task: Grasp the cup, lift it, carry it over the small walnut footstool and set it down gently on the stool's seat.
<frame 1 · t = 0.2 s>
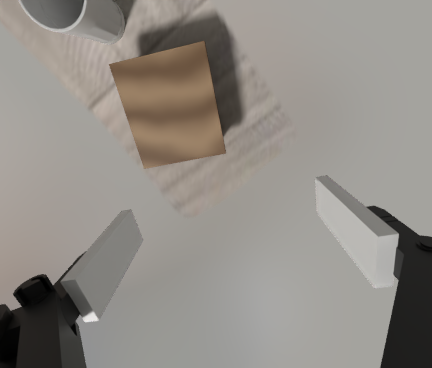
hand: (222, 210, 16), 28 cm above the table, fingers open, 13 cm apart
cup: (105, 21, 35), on the table
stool: (178, 108, 40), on the table
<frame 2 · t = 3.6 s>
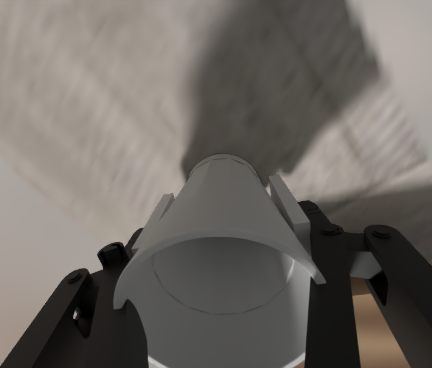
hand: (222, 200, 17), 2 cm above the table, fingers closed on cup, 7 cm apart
cup: (223, 188, 20), on the table, touching gripper
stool: (323, 302, 24), on the table
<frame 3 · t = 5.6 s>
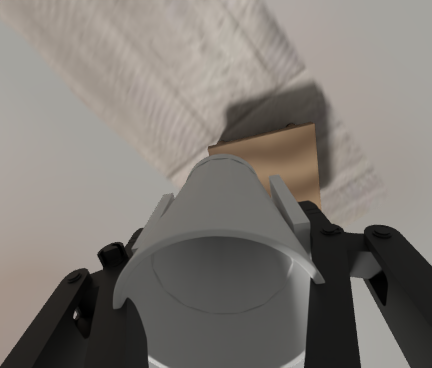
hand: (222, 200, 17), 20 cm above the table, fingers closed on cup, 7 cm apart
cup: (222, 188, 20), point 18 cm above the table, touching gripper
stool: (262, 175, 38), on the table
when the fingers open (8 cm above the table, at t = 8.0 s): cup stays where it is, resting on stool.
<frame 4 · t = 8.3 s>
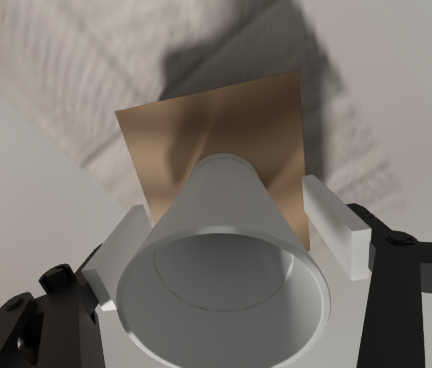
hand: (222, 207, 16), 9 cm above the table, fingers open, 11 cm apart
cup: (223, 187, 20), point 6 cm above the table, touching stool
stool: (223, 167, 25), on the table
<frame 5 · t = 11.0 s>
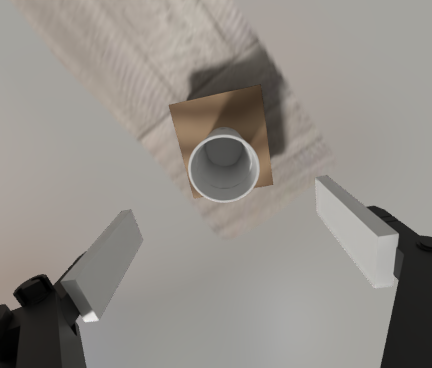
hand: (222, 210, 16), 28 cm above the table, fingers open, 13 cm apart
cup: (224, 146, 36), point 6 cm above the table, touching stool
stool: (224, 140, 42), on the table
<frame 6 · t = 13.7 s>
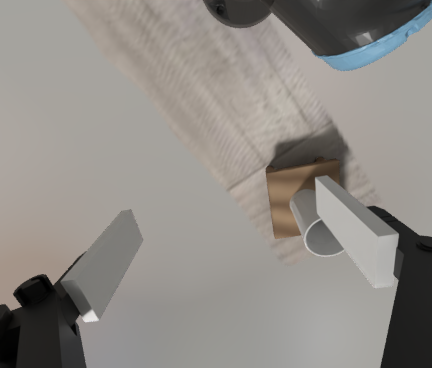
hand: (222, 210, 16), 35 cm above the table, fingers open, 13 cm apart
cup: (304, 202, 47), point 6 cm above the table, touching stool
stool: (296, 191, 53), on the table
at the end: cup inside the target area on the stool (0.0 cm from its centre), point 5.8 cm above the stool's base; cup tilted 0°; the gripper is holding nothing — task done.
